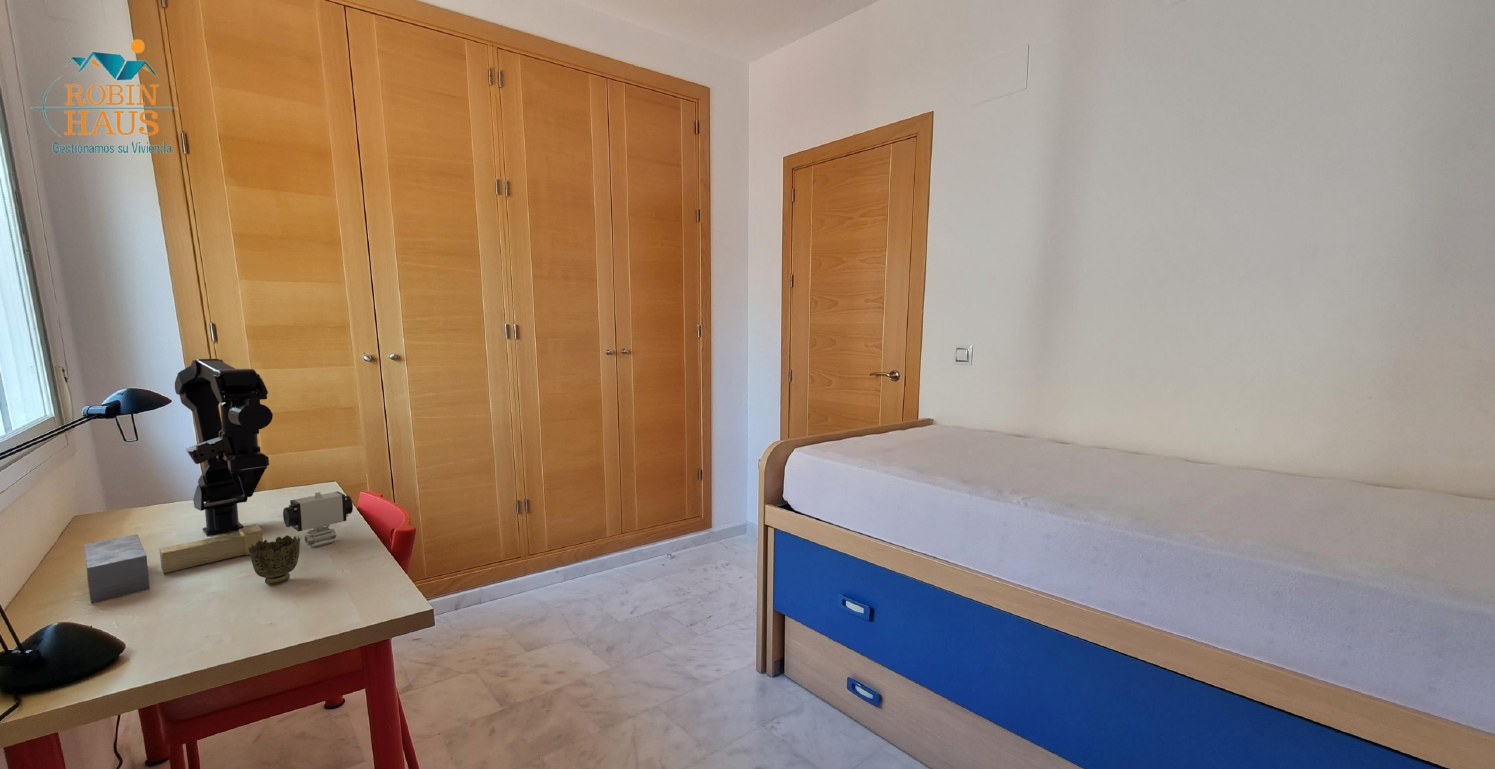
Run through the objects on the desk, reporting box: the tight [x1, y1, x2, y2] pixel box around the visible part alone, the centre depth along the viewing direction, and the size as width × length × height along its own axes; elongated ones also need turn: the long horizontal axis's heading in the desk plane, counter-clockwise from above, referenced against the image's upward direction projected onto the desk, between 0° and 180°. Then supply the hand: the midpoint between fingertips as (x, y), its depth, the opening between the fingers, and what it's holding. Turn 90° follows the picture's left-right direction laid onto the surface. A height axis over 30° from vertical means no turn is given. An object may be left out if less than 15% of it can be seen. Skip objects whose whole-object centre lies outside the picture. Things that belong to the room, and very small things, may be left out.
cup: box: [249, 534, 301, 586], centre depth 103 cm, size 8×7×8 cm
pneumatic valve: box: [282, 491, 354, 548], centre depth 123 cm, size 6×12×12 cm, turn 144°
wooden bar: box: [158, 524, 264, 574], centre depth 114 cm, size 15×5×5 cm, turn 142°
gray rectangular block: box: [83, 533, 151, 605], centre depth 103 cm, size 7×18×6 cm, turn 52°
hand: (244, 492), depth 123 cm, fingers open, 9 cm apart
